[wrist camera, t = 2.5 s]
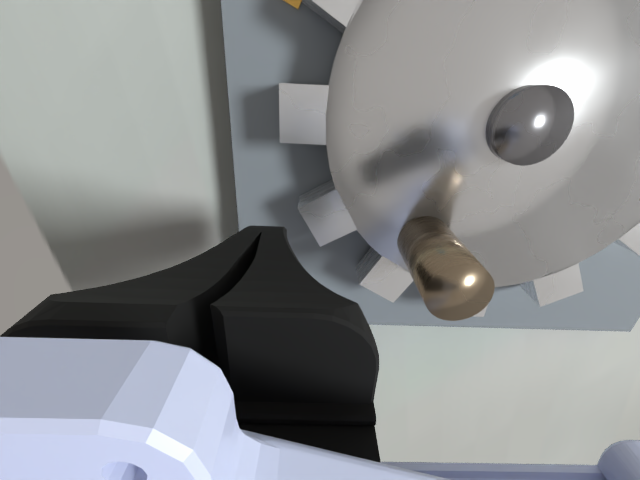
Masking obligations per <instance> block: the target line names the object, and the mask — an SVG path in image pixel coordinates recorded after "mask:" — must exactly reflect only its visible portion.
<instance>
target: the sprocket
mask: <svg viewBox="0 0 640 480" xmlns="http://www.w3.org/2000/svg"><path fill="white" fill-rule="evenodd" d="M302 3H304V4H305V5H306V6H307V7H309V8H310V9H311V10H313V11H314V12H315V13H317V14H318V15H319V16H320V17H322V18H323V19H324V20H326V21H327V22H328V23H329V24H331V25H332V26H333V27H335V28H336V29H337V30H339V31H340V32H341V33H342V34H343V35H342V38H341V41H340V43H339V46H338V49H337V52H336V55H335V58H334V61H333V65H332V69H331V74H330V78H329V83H328V85H316V84H295V83H279V127H280V143H294V144H318V145H326V146H327V153H328V160H329V167H330V171H331V175H332V178H333V179H332V180H330V181H328V182H326V183H325V184H323V185H321V186H319V187H317V188H315V189H313V190H311V191H309V192H307V193H305V194H303V195H301V196H299V202H298V210H299V212H300V214H301V215H302V217H303V219H304V220H305V222H306V224H307V225H308V227H309V229H310V230H311V232H312V234H313V236H314V237H315V239H316V241H317V242H318V244H319V246H320V247H321V246H323V245H325V244H327V243H329V242H332V241H334V240H336V239H338V238H340V237H342V236H344V235H347V234H349V233H351V232H353V231H355V230H357V231H358V232H359V233H360V235H361V236H362V237H363V238H364V239H365V241H366V242H367V243H368V244H369V245H370V246H371V248H370V249H369V250H368V252H367V253H366V254H365V255H364V257H363V258H362V259H361V261H360V262H359V263H358V264H357V266H356V271H357V276H358V281H359V284H360V285H361V286H363V287H365V288H367V289H369V290H371V291H372V292H374V293H376V294H378V295H380V296H382V297H383V298H385V299H387V300H389V301H391V302H393V303H394V301H395V300H396V299H397V298H398V297H399V296H400V295H401V294H402V293H403V292H404V290H405V289H406V288H407V287H408V286H409V285H410V284H411V283H412V282H413V281H414V283H415V285H416V287H417V289H418V291H419V293H420V295H421V297H422V299H423V301H424V303H425V305H426V307H427V309H428V310H429V312H430V313H431V314H432V315H434V316H435V317H437V318H439V319H442V320H447V321H458V320H463V319H467V318H470V317H484V315H485V312H486V309H487V306H488V304H489V302H490V301H491V299H492V297H493V294H494V289H495V287H502V286H510V285H516V284H520V285H521V288H522V289H523V290H524V291H525V292H526V293H527V294H528V295H529V296H530V297H531V298H532V299H533V300H534V301H535V302H536V303H537V304H538V305H539V306H540V307H542V306H545V305H547V304H550V303H553V302H555V301H558V300H561V299H564V298H566V297H569V296H572V295H575V294H577V293H580V292H583V285H582V280H581V274H580V269H579V262H581V261H583V260H585V259H587V258H589V257H590V256H592V255H594V254H596V253H598V252H599V251H601V250H603V249H604V248H606V247H607V246H609V245H610V244H612V243H613V242H614V243H616V244H618V245H620V246H622V247H624V248H625V249H627V250H629V251H631V252H633V253H635V254H636V255H638V256H640V0H302Z"/></svg>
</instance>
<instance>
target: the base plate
mask: <svg viewBox="0 0 640 480" xmlns="http://www.w3.org/2000/svg"><path fill="white" fill-rule="evenodd" d="M221 9H222V22H223V35H224V48H225V60H226V73H227V86H228V99H229V111H230V124H231V137H232V150H233V162H234V175H235V188H236V201H237V213H238V226H239V231H241V230H242V229H244V228H246V227H248V226H250V225H251V226H281V227H285V228H286V229H287V239H288V242H289V244H290V246H291V248H292V250H293V252H294V254H295V256H296V257H297V259H298V260H299V262H300V263H301V265H302V266H303V267H304V268H305V270H306V271H307V272H308V273H309V274H310V275H311V276H312V277H313V278H314V279H315V280H317V281H318V282H319V283H320V284H322V285H323V286H325V287H326V288H328V289H330V290H331V291H333V292H334V293H336V294H338V295H340V296H343V297H345V298H347V299H349V300H352V301H354V302H356V303H358V305H359V306H360V308H361V310H362V312H363V314H364V316H365V318H366V320H367V322H368V324H372V325H409V326H445V327H482V328H519V329H555V330H592V331H629V332H630V331H631V330H632V328H633V327H634V325H635V323H636V322H637V320H638V319H639V317H640V256H638V255H636V254H635V253H633V252H631V251H629V250H627V249H625V248H624V247H622V246H620V245H618V244H616V243H614V242H613V243H612V244H610V245H609V246H607V247H606V248H604V249H603V250H601V251H599V252H598V253H596V254H594V255H592V256H590V257H589V258H587V259H585V260H583V261H581V262H579V269H580V274H581V280H582V285H583V292H580V293H577V294H575V295H572V296H569V297H566V298H564V299H561V300H558V301H555V302H553V303H550V304H547V305H545V306H542V307H540V306H539V305H538V304H537V303H536V302H535V301H534V300H533V299H532V298H531V297H530V296H529V295H528V294H527V293H526V292H525V291H524V290H523V289H522V288H521V285H520V284H516V285H510V286H502V287H495V289H494V294H493V297H492V299H491V301H490V302H489V304H488V306H487V309H486V312H485V315H484V317H470V318H467V319H463V320H458V321H447V320H442V319H439V318H437V317H435V316H434V315H432V314H431V313H430V312H429V310H428V309H427V307H426V305H425V303H424V301H423V299H422V297H421V295H420V293H419V291H418V289H417V287H416V285H415V283H414V281H413V282H412V283H411V284H410V285H409V286H408V287H407V288H406V289H405V290H404V292H403V293H402V294H401V295H400V296H399V297H398V298H397V299H396V300H395V301H394V303H393V302H391V301H389V300H387V299H385V298H383V297H382V296H380V295H378V294H376V293H374V292H372V291H371V290H369V289H367V288H365V287H363V286H361V285H360V284H359V281H358V276H357V271H356V266H357V264H358V263H359V262H360V261H361V259H362V258H363V257H364V255H365V254H366V253H367V252H368V250H369V249H370V248H371V246H370V245H369V244H368V243H367V242H366V241H365V239H364V238H363V237H362V236H361V235H360V233H359V232H358V231H357V230H355V231H353V232H351V233H349V234H347V235H344V236H342V237H340V238H338V239H336V240H334V241H332V242H329V243H327V244H325V245H323V246H321V247H320V246H319V244H318V242H317V241H316V239H315V237H314V236H313V234H312V232H311V230H310V229H309V227H308V225H307V224H306V222H305V220H304V219H303V217H302V215H301V214H300V212H299V210H298V202H299V196H301V195H303V194H305V193H307V192H309V191H311V190H313V189H315V188H317V187H319V186H321V185H323V184H325V183H326V182H328V181H330V180H332V179H333V178H332V175H331V171H330V167H329V160H328V153H327V146H326V145H318V144H294V143H280V127H279V83H295V84H316V85H328V83H329V78H330V74H331V69H332V65H333V61H334V58H335V55H336V52H337V49H338V46H339V43H340V41H341V38H342V35H343V34H342V33H341V32H340V31H339V30H337V29H336V28H335V27H333V26H332V25H331V24H329V23H328V22H327V21H326V20H324V19H323V18H322V17H320V16H319V15H318V14H317V13H315V12H314V11H313V10H311V9H310V8H309V7H307V6H306V5H305V4H304V3H302V0H221Z"/></svg>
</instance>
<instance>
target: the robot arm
mask: <svg viewBox="0 0 640 480" xmlns="http://www.w3.org/2000/svg"><path fill="white" fill-rule="evenodd" d="M378 371H379V354H378V350H377V346H376V343H375V339H374V337H373V334H372V332H371V329H370V327H369V324H368V322H367V320H366V318H365V316H364V314H363V312H362V310H361V308H360V306H359V305H358V303H356V302H354V301H352V300H349V299H347V298H345V297H343V296H340V295H338V294H336V293H334V292H333V291H331V290H330V289H328V288H326V287H325V286H323V285H322V284H320V283H319V282H318V281H317V280H315V279H314V278H313V277H312V276H311V275H310V274H309V273H308V272H307V271H306V270H305V268H304V267H303V266H302V265H301V263H300V262H299V260H298V259H297V257H296V256H295V254H294V252H293V250H292V248H291V246H290V244H289V242H288V239H287V229H286V228H285V227H281V226H251V225H250V226H248V227H246V228H244V229H242V230H241V231H239V232H238V233H236V234H235V235H233V236H231V237H230V238H228V239H227V240H225V241H224V242H222V243H220V244H219V245H217V246H215V247H213V248H211V249H210V250H208V251H206V252H204V253H202V254H201V255H199V256H197V257H194V258H192V259H190V260H188V261H186V262H183V263H181V264H178V265H176V266H173V267H171V268H168V269H165V270H162V271H159V272H156V273H153V274H150V275H147V276H143V277H140V278H136V279H132V280H128V281H124V282H120V283H116V284H111V285H107V286H102V287H97V288H91V289H85V290H79V291H73V292H67V293H61V294H53V295H50V296H49V297H47V298H46V299H45V300H44V301H42V302H41V303H40V304H39V305H38V306H36V307H35V308H34V309H33V310H31V311H30V312H29V313H28V314H27V315H26V316H24V317H23V318H22V319H20V320H19V321H18V322H17V323H15V324H14V325H13V326H12V327H11V328H9V329H8V330H7V331H6V332H4V333H3V334H2V335H1V336H0V480H640V440H624V441H619V442H616V443H614V444H611V445H610V446H609V447H608V448H606V449H605V451H604V452H603V453H602V455H601V457H600V459H599V461H598V464H597V465H563V464H495V463H426V462H380V457H379V451H378V445H377V439H376V433H375V427H374V425H375V424H376V414H375V408H374V403H373V400H374V394H375V388H376V382H377V376H378Z"/></svg>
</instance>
